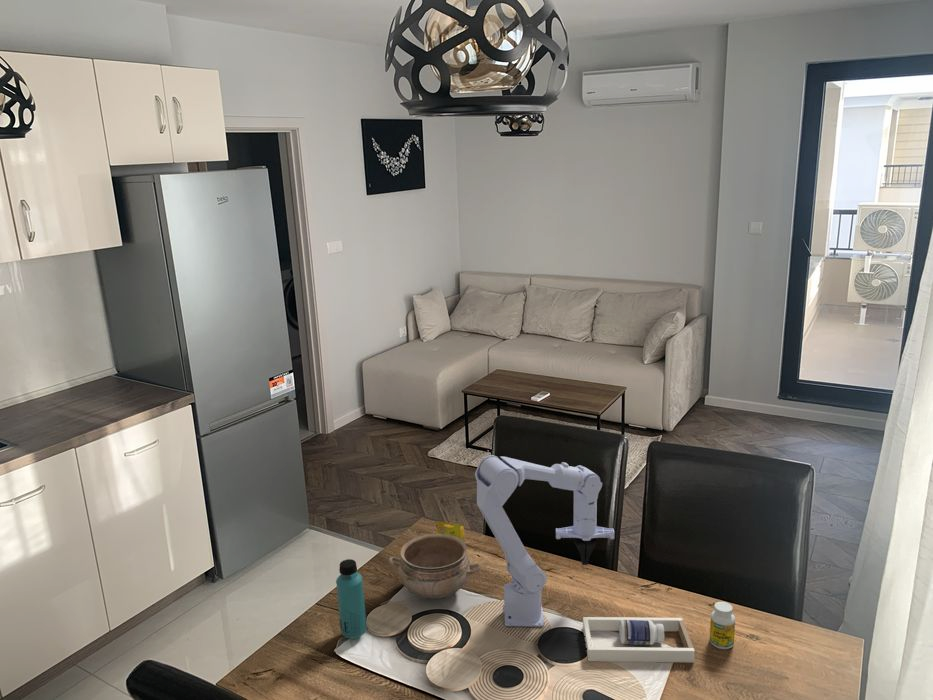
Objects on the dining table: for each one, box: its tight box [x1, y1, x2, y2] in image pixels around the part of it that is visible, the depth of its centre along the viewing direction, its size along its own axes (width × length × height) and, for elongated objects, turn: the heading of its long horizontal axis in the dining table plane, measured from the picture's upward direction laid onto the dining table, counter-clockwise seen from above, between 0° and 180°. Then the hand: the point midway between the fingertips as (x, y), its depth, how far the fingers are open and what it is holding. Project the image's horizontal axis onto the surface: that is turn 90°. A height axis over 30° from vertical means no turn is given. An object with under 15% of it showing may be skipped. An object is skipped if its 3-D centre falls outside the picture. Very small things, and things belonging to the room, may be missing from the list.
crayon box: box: [436, 520, 466, 544], centre depth 203 cm, size 7×3×12 cm, turn 69°
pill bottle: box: [618, 620, 665, 646], centre depth 165 cm, size 5×5×10 cm
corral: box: [582, 616, 696, 663], centre depth 164 cm, size 24×12×3 cm, turn 87°
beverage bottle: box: [335, 558, 368, 639], centre depth 169 cm, size 6×7×20 cm
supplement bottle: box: [709, 601, 736, 650], centre depth 163 cm, size 5×5×10 cm
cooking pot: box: [388, 533, 482, 600], centre depth 187 cm, size 25×19×12 cm
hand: (584, 562), depth 180 cm, fingers closed
